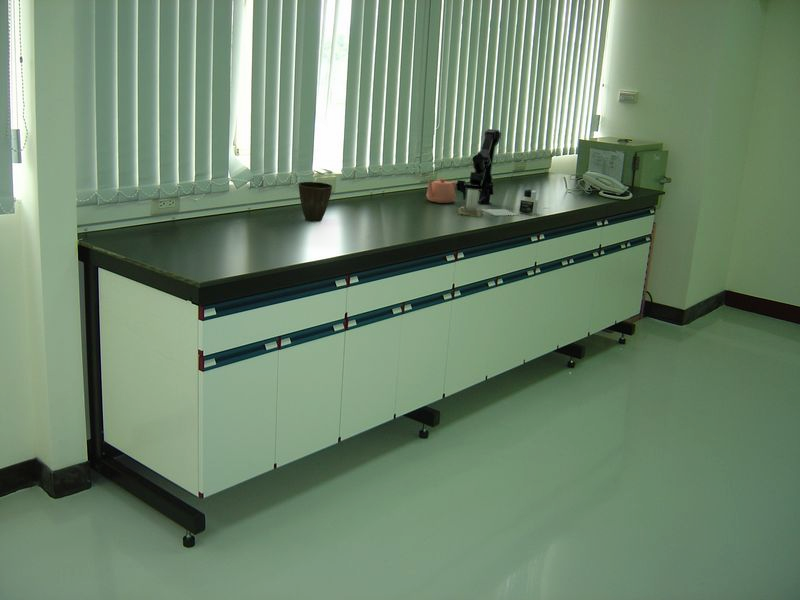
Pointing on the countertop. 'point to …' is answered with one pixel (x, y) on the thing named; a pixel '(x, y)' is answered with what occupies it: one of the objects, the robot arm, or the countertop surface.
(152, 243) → the countertop surface
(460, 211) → the holder
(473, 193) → the pale grey rounded piece
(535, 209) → the medicine bottle
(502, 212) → the mat
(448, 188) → the teapot
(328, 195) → the plant pot
